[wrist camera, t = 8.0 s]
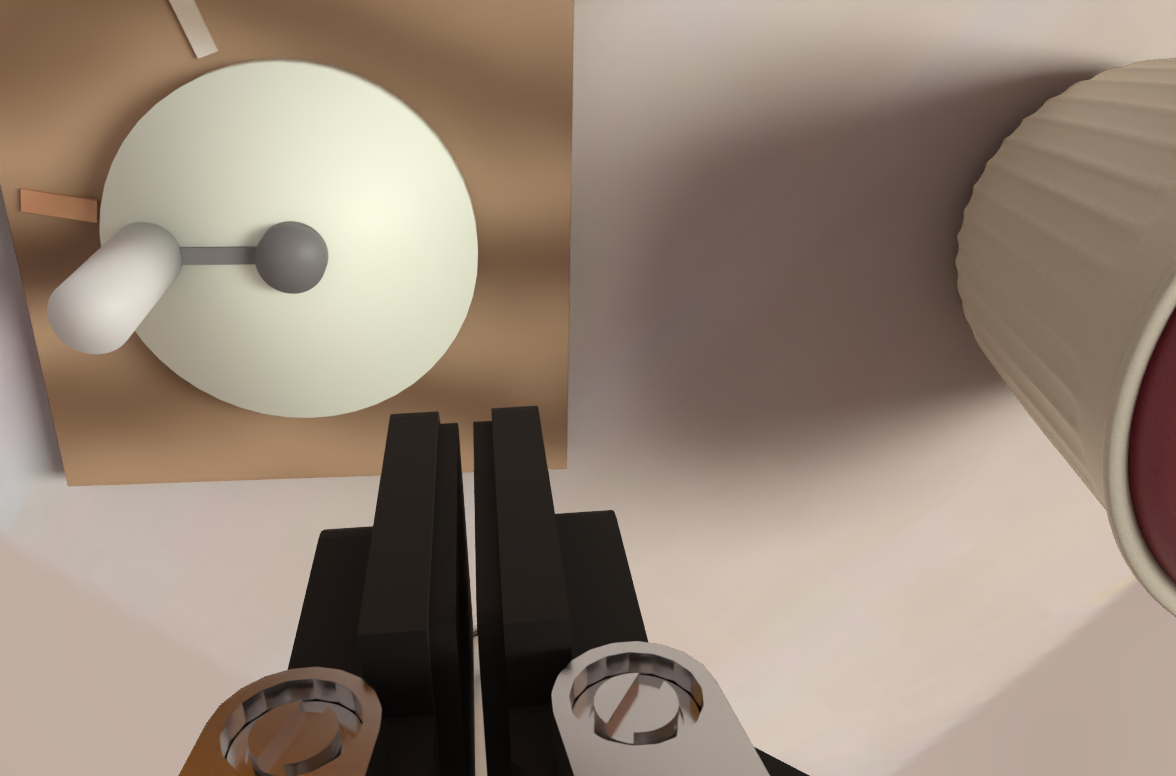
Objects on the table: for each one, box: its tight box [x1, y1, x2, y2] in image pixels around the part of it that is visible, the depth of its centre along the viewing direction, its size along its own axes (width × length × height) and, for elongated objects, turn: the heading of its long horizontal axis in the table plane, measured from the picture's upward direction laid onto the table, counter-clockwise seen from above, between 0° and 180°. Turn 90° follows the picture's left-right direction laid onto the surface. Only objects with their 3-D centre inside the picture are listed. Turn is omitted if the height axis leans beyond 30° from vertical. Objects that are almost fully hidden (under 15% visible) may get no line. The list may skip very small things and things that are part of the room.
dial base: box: [0, 0, 574, 486], centre depth 38 cm, size 20×20×2 cm
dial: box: [47, 58, 478, 418], centre depth 34 cm, size 13×13×8 cm
